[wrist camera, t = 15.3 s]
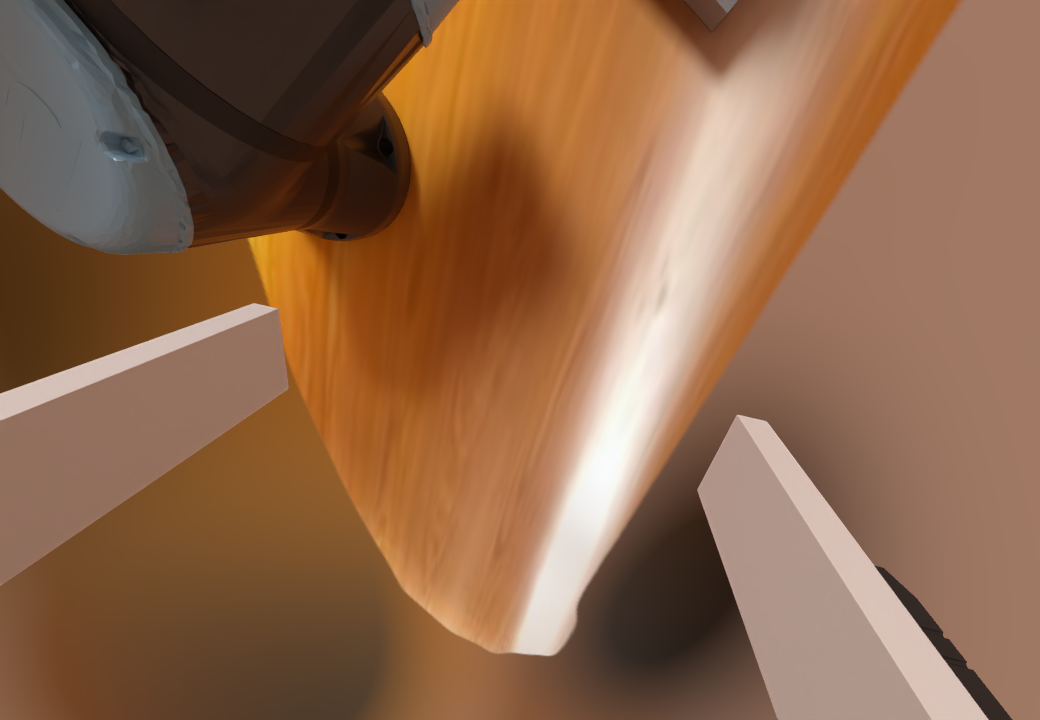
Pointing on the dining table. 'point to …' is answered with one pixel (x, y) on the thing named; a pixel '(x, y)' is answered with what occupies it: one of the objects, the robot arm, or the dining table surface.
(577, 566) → the dining table surface
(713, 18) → the tray
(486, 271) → the dining table surface
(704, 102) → the dining table surface
